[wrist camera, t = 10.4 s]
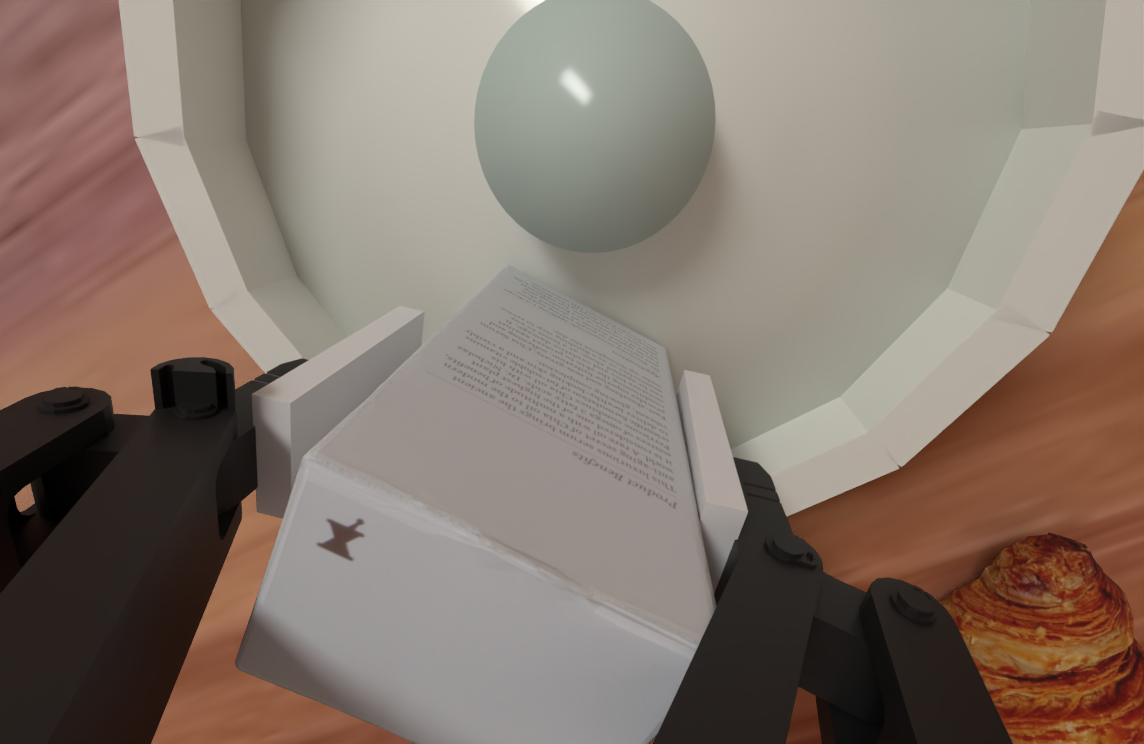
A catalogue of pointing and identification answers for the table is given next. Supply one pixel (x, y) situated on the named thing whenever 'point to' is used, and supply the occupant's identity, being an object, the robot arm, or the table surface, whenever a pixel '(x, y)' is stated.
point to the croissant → (1054, 645)
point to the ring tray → (765, 262)
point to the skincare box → (496, 538)
